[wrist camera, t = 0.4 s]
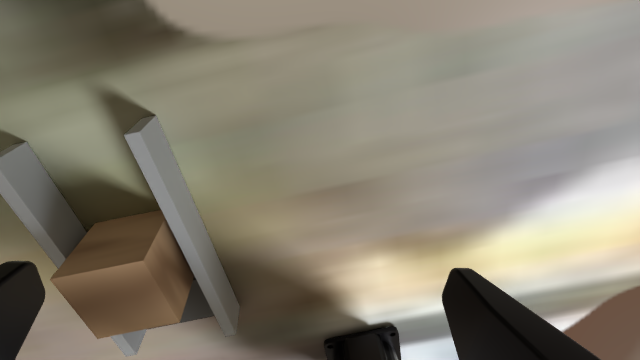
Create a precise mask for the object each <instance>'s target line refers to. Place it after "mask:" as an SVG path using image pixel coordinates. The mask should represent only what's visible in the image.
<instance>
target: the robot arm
mask: <svg viewBox="0 0 640 360" xmlns="http://www.w3.org/2000/svg"><path fill="white" fill-rule="evenodd" d="M44 299H45V289H44V286H43V283H42V281H41V278H40V275H39V273H38V270H37V268H36V266H35V264H33V263H32V262H29V261H9V262H5V263H3V264H1V265H0V360H15V358H16V356H17V354H18V352H19V350H20V348H21V346H22V344H23V342H24V340H25V338H26V336H27V334H28V332H29V330H30V328H31V326H32V324H33V322H34V320H35V318H36V316H37V314H38V312H39V310H40V308H41V306H42V304H43V302H44ZM442 302H443V306H444V310H445V313H446V316H447V320H448V323H449V327H450V330H451V334H452V337H453V341H454V344H455V347H456V351H457V354H458V358H459V360H601V359H600V358H598V357H597V356H595V355H594V354H592V353H591V352H590V351H588V350H587V349H585V348H584V347H582V346H581V345H580V344H578V343H577V342H575V341H574V340H572V339H571V338H570V337H568V336H567V335H565V334H564V333H562V332H561V331H560V330H558V329H557V328H555V327H554V326H552V325H551V324H550V323H548V322H547V321H545V320H544V319H542V318H541V317H539V316H538V315H537V314H535V313H534V312H532V311H531V310H529V309H528V308H527V307H525V306H524V305H522V304H521V303H519V302H518V301H517V300H515V299H514V298H512V297H511V296H509V295H508V294H507V293H505V292H504V291H502V290H501V289H499V288H498V287H496V286H495V285H494V284H492V283H491V282H489V281H488V280H486V279H485V278H484V277H482V276H481V275H479V274H478V273H476V272H475V271H474V270H472V269H469V268H454V269H452V270H451V271H450V274H449V276H448V279H447V282H446V285H445V287H444V290H443V294H442ZM324 348H325V352H326V355H327V359H328V360H401V353H400V343H399V333H398V330H397V328H396V327H388V328H383V329H378V330H373V331H367V332H362V333H357V334H352V335H347V336H342V337H337V338H332V339H328V340H326V341H325V342H324Z"/></svg>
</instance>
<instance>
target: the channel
mask: <svg viewBox="0 0 640 360" xmlns="http://www.w3.org/2000/svg"><path fill="white" fill-rule="evenodd" d="M124 137H125V139H126V141H127V143H128V145H129V147H130V149H131V151H132V153H133V155H134V157H135V158H136V160H137V162H138V164H139V166H140V168H141V170H142V172H143V174H144V176H145V178H146V180H147V182H148V184H149V186H150V188H151V190H152V192H153V194H154V196H155V198H156V200H157V202H158V204H159V206H160V208H161V210H162V212H163V214H164V216H165V218H166V220H167V222H168V224H169V226H170V228H171V230H172V232H173V234H174V236H175V238H176V240H177V242H178V244H179V246H180V248H181V250H182V252H183V254H184V256H185V258H186V260H187V262H188V264H189V266H190V268H191V270H192V272H193V274H194V278H193V282H192V285H191V288H190V291H189V294H188V298H187V301H186V304H185V307H184V311H183V314H182V317H181V320H180V322H179V323H181V322H187V321H192V320H197V319H202V318H207V317H212V316H215V317H216V319H217V321H218V323H219V325H220V327H221V329H222V331H223V333H224V335H225V337H227V336H232V335H236V332H237V325H238V318H239V310H240V306H239V303H238V301H237V299H236V297H235V294H234V292H233V290H232V287H231V285H230V283H229V281H228V278H227V276H226V274H225V272H224V269H223V267H222V265H221V262H220V260H219V258H218V256H217V253H216V251H215V249H214V246H213V244H212V242H211V240H210V237H209V235H208V233H207V230H206V228H205V226H204V224H203V221H202V219H201V217H200V215H199V212H198V210H197V208H196V205H195V203H194V201H193V199H192V196H191V194H190V192H189V189H188V187H187V185H186V183H185V180H184V178H183V176H182V173H181V171H180V169H179V167H178V164H177V162H176V160H175V158H174V155H173V153H172V151H171V148H170V146H169V144H168V142H167V139H166V137H165V135H164V132H163V130H162V128H161V126H160V123H159V121H158V119H157V117H156V115H155V116H150V117H145V118H142V119H141V120H139V121H138V122H137V123H136V124H135V125H134V126H133V127H132V128H131V129H130V130H129V131H128V132H126V133H125V134H124ZM0 194H1V195H2V197H3V198H4V199H5V200H6V202H7V203H8V204H9V206H10V207H11V208H12V210H13V211H14V212H15V213H16V215H17V216H18V217H19V219H20V220H21V221H22V223H23V224H24V225H25V226H26V228H27V229H28V230H29V232H30V233H31V234H32V235H33V237H34V238H35V239H36V241H37V242H38V243H39V245H40V246H41V247H42V248H43V250H44V251H45V252H46V254H47V255H48V256H49V258H50V259H51V260H52V261H53V263H54V264H55V265H56V267H57V268H58V269H59V267H60V266H61V265H62V264H63V262H64V261H65V260H66V259H67V257H68V256H69V255H70V254H71V252H72V251H73V250H74V249H75V247H76V246H77V245H78V244H79V242H80V241H81V240H82V239H83V237H84V236H85V235H86V234H87V232H86V230H85V229H84V227H83V226H82V224H81V223H80V221H79V220H78V218H77V217H76V215H75V214H74V212H73V211H72V209H71V208H70V206H69V205H68V203H67V202H66V200H65V199H64V197H63V196H62V194H61V193H60V191H59V190H58V188H57V187H56V185H55V184H54V182H53V181H52V179H51V178H50V176H49V175H48V173H47V172H46V170H45V169H44V167H43V166H42V164H41V163H40V161H39V160H38V158H37V157H36V155H35V154H34V152H33V151H32V149H31V148H30V146H29V145H28V143H27V142H23V143H18V144H13V145H11V146H9V147H8V148H6V149H4V150H3V151H1V152H0ZM174 324H176V323H174ZM169 325H171V324H169ZM164 326H166V325H164ZM159 327H161V326H159ZM154 328H156V327H154ZM149 329H151V328H149ZM146 330H147V329H144V330H139V331H134V332H129V333H124V334H119V335H114V336H110V337H111V338H112V339H113V341H114V342H115V343H116V344H117V346H118V347H119V348H120V350H121V351H122V352H123V354H124V355H125V356H131V355H136V354H137V352H138V350H139V347H140V345H141V342H142V340H143V337H144V335H145V332H146Z"/></svg>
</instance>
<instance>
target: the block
mask: <svg viewBox="0 0 640 360" xmlns="http://www.w3.org/2000/svg"><path fill="white" fill-rule="evenodd" d="M193 278H194V274H193V272H192V270H191V268H190V266H189V264H188V262H187V260H186V258H185V256H184V254H183V252H182V250H181V248H180V246H179V244H178V242H177V240H176V238H175V236H174V234H173V232H172V230H171V228H170V226H169V224H168V222H167V220H166V218H165V216H164V214H163V212H162V210H157V211H152V212H147V213H142V214H137V215H132V216H127V217H122V218H118V219H113V220H108V221H103V222H98V223H95V224H94V225H93V226H92V227H91V229H90V230H89V231H88V232H87V234H86V235H85V236H84V237H83V239H82V240H81V241H80V242H79V244H78V245H77V246H76V247H75V249H74V250H73V251H72V252H71V254H70V255H69V256H68V257H67V259H66V260H65V261H64V262H63V264H62V265H61V266H60V267H59V269H58V270H57V271H56V272H55V274H54V275H53V276H52V277H51V279H50V280H51V281H52V283H53V284H54V285H55V286H56V288H57V289H58V290H59V291H60V293H61V294H62V295H63V296H64V298H65V299H66V300H67V301H68V303H69V304H70V305H71V306H72V308H73V309H74V310H75V311H76V313H77V314H78V315H79V316H80V318H81V319H82V320H83V321H84V322H85V324H86V325H87V326H88V327H89V329H90V330H91V331H92V332H93V334H94V335H95V336H96V337H97V339H99V338H104V337H109V336H114V335H119V334H124V333H129V332H134V331H139V330H144V329H149V328H154V327H159V326H164V325H169V324H174V323H179V322H180V320H181V317H182V314H183V311H184V307H185V304H186V301H187V298H188V294H189V291H190V288H191V285H192V282H193Z"/></svg>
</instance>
